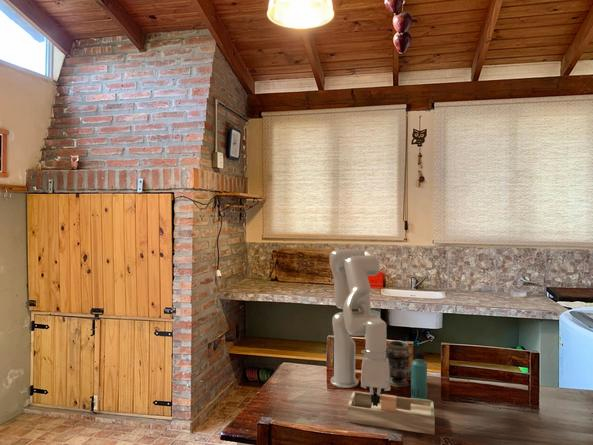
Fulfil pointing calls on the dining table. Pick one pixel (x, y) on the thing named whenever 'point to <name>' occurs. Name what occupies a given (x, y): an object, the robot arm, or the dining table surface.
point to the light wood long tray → (393, 413)
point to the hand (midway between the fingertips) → (375, 404)
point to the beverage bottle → (419, 376)
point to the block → (388, 403)
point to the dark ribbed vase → (399, 362)
